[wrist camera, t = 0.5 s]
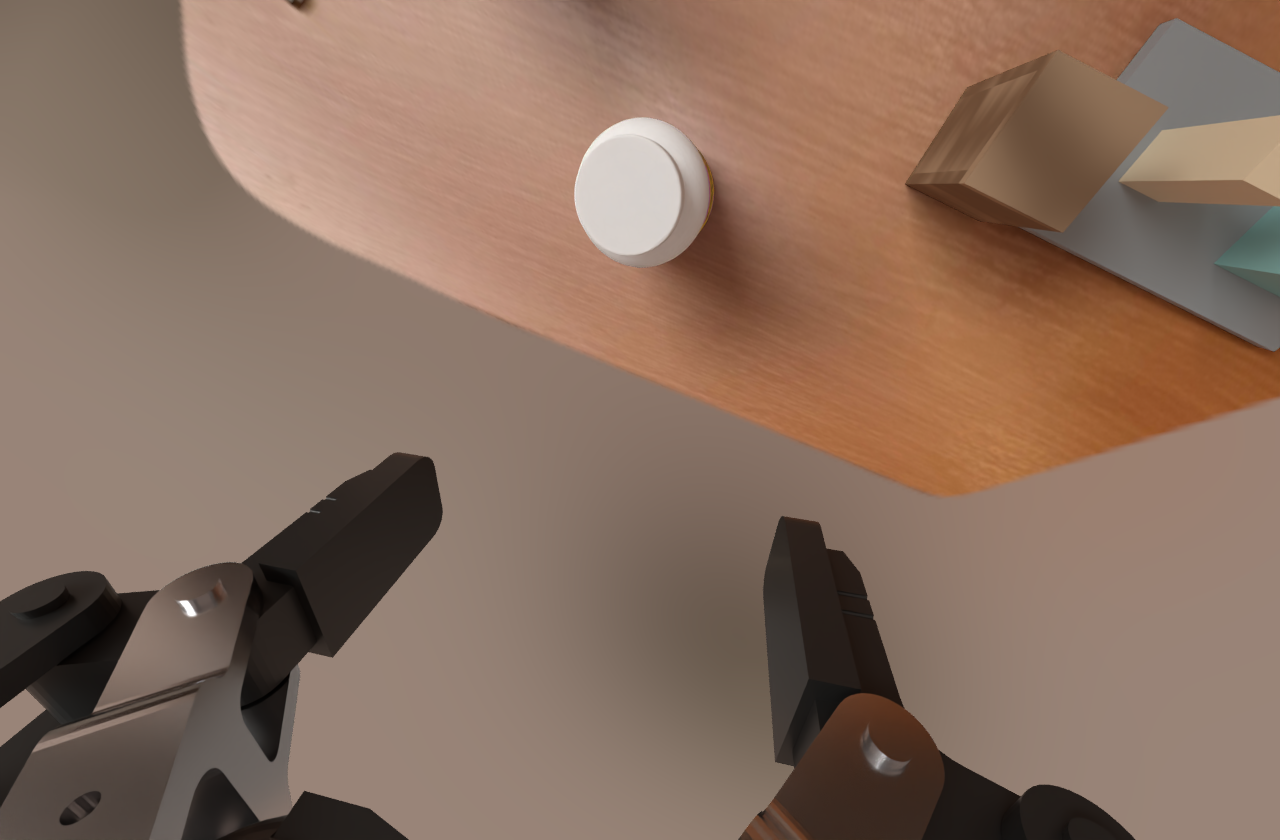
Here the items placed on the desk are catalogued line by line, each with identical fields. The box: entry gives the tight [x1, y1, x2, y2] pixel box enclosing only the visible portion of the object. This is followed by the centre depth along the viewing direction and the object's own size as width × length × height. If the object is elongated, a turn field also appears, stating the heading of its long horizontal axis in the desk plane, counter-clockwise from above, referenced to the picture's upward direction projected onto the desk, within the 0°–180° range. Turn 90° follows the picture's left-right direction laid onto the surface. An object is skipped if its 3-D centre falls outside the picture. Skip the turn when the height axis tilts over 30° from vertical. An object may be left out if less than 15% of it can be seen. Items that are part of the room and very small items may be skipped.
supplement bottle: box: [575, 118, 714, 268], centre depth 25 cm, size 7×7×13 cm
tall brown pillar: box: [906, 50, 1169, 233], centre depth 23 cm, size 5×5×8 cm
